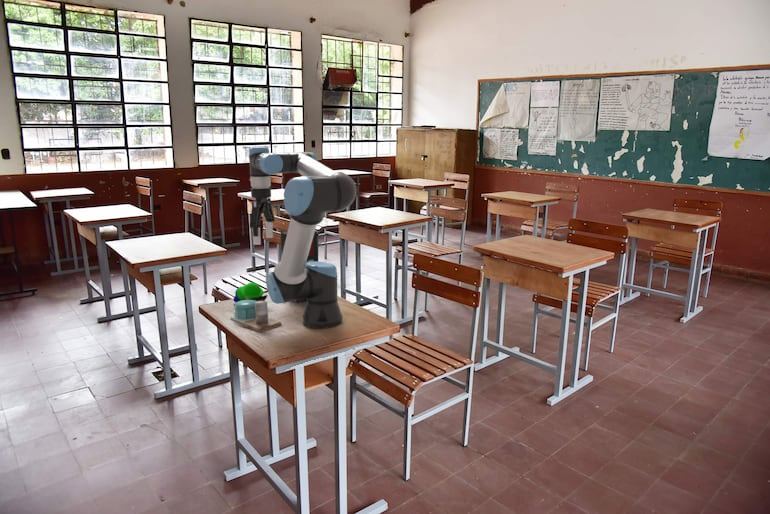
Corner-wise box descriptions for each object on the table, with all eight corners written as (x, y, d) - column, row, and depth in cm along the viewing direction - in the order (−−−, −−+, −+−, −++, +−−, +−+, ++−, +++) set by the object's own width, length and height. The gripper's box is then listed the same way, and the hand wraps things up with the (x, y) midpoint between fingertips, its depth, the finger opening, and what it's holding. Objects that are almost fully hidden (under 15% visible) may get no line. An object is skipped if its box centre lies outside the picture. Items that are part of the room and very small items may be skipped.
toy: (237, 316, 225) (248, 297, 215) (227, 294, 229) (238, 275, 219) (258, 311, 231) (269, 293, 221) (248, 290, 235) (259, 271, 225)
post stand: (281, 324, 203) (280, 302, 201) (260, 332, 196) (258, 308, 194) (264, 319, 209) (263, 297, 207) (243, 326, 202) (241, 303, 200)
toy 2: (288, 304, 228) (285, 234, 221) (283, 300, 233) (280, 232, 226) (319, 299, 234) (317, 231, 227) (313, 295, 239) (311, 229, 232)
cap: (255, 320, 205) (255, 307, 204) (229, 318, 207) (228, 305, 206) (263, 313, 213) (263, 300, 212) (238, 311, 215) (237, 299, 214)
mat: (263, 317, 211) (263, 315, 211) (244, 323, 204) (244, 321, 204) (249, 312, 217) (249, 310, 216) (230, 318, 210) (230, 316, 209)
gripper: (263, 184, 221) (265, 234, 226) (238, 190, 197) (241, 247, 202) (280, 184, 220) (283, 235, 225) (258, 190, 196) (261, 247, 201)
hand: (263, 241), depth 214 cm, fingers open, 13 cm apart
